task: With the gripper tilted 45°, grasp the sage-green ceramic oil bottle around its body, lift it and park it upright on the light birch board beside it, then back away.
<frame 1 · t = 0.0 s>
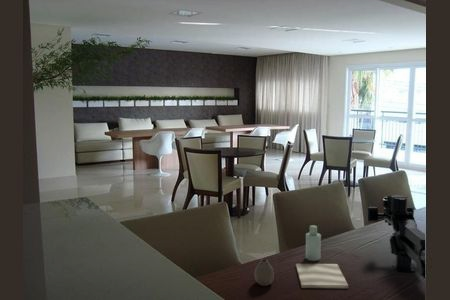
hand: (383, 209, 178), 17 cm above the table, tool horizontal, fingers open, 9 cm apart
vase: (264, 284, 144), on the table
oil bottle: (313, 257, 167), on the table
birch board: (320, 276, 149), on the table
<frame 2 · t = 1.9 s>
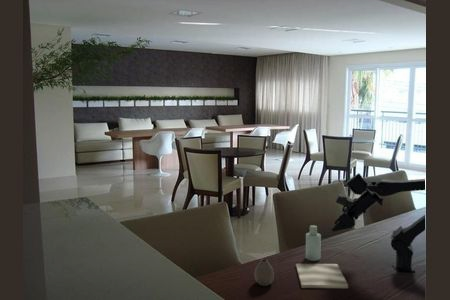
hand: (333, 227, 163), 14 cm above the table, tool tilted 45°, fingers open, 9 cm apart
nothing on the table moved.
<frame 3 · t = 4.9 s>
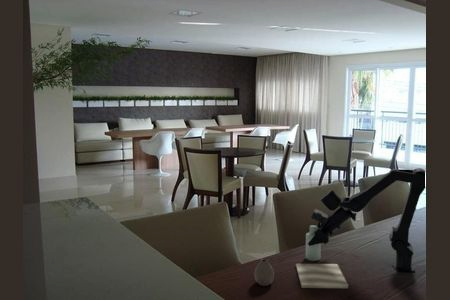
hand: (309, 242, 166), 7 cm above the table, tool tilted 45°, fingers closed on oil bottle, 6 cm apart
oil bottle: (313, 257, 167), on the table, touching gripper
everything else where it was.
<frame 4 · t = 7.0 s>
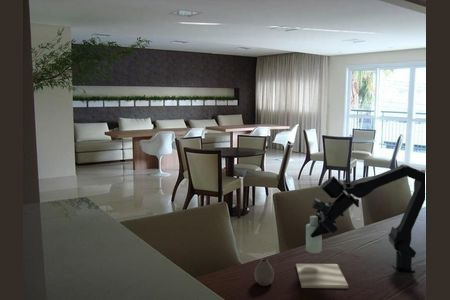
hand: (310, 233, 156), 13 cm above the table, tool tilted 45°, fingers closed on oil bottle, 6 cm apart
oil bottle: (313, 250, 157), point 7 cm above the table, touching gripper
everything else where it was.
when the fingers open (9 cm above the table, at t = 9.2 s): oil bottle stays where it is, resting on birch board.
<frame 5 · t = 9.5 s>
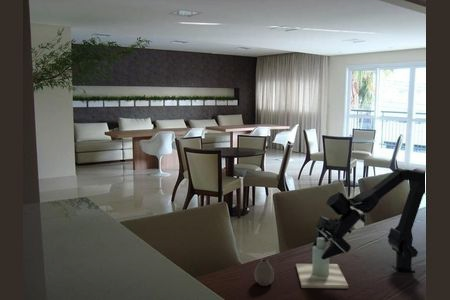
hand: (317, 253, 148), 9 cm above the table, tool tilted 45°, fingers open, 9 cm apart
oil bottle: (320, 273, 149), point 1 cm above the table, touching birch board
everything else where it was.
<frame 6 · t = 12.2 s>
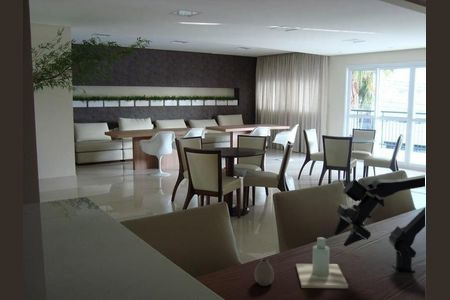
hand: (339, 239, 155), 11 cm above the table, tool tilted 35°, fingers open, 9 cm apart
nothing on the table moved.
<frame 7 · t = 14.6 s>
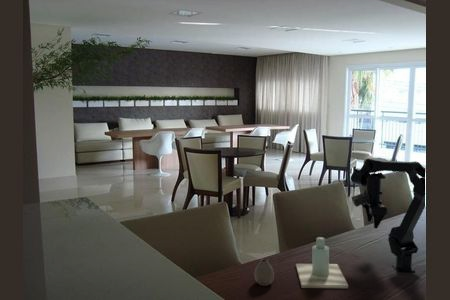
hand: (372, 224, 167), 13 cm above the table, tool pointing down, fingers open, 9 cm apart
nothing on the table moved.
at the end: oil bottle inside the target area on the birch board (0.1 cm from its centre), point 1.2 cm above the birch board's base; oil bottle tilted 1°; the gripper is holding nothing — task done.
